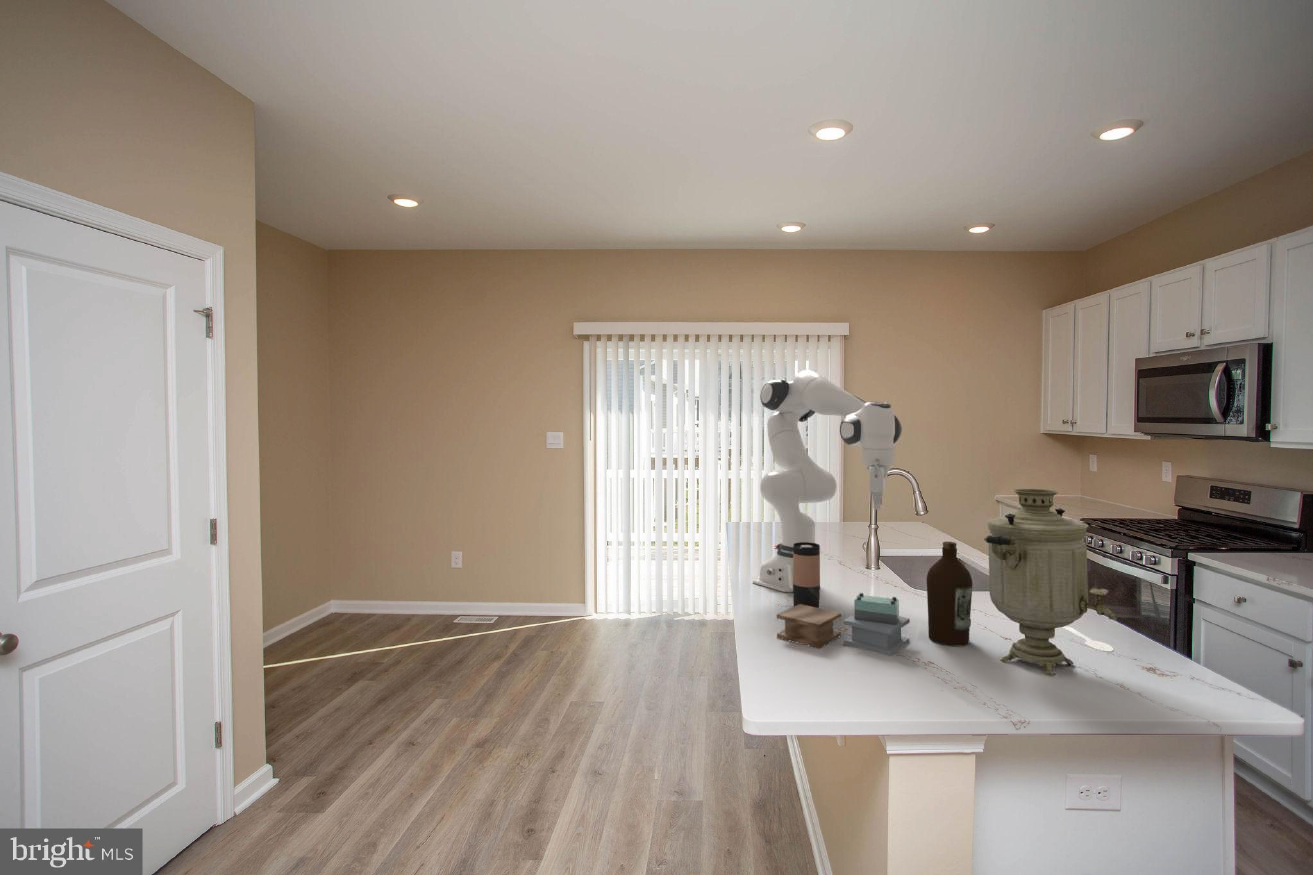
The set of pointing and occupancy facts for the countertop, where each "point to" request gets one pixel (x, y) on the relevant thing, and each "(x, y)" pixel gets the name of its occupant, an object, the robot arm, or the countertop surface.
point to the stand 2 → (876, 635)
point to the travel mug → (806, 574)
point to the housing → (876, 609)
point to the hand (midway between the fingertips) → (877, 507)
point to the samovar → (1039, 575)
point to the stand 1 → (809, 625)
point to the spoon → (1090, 641)
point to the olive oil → (949, 599)
